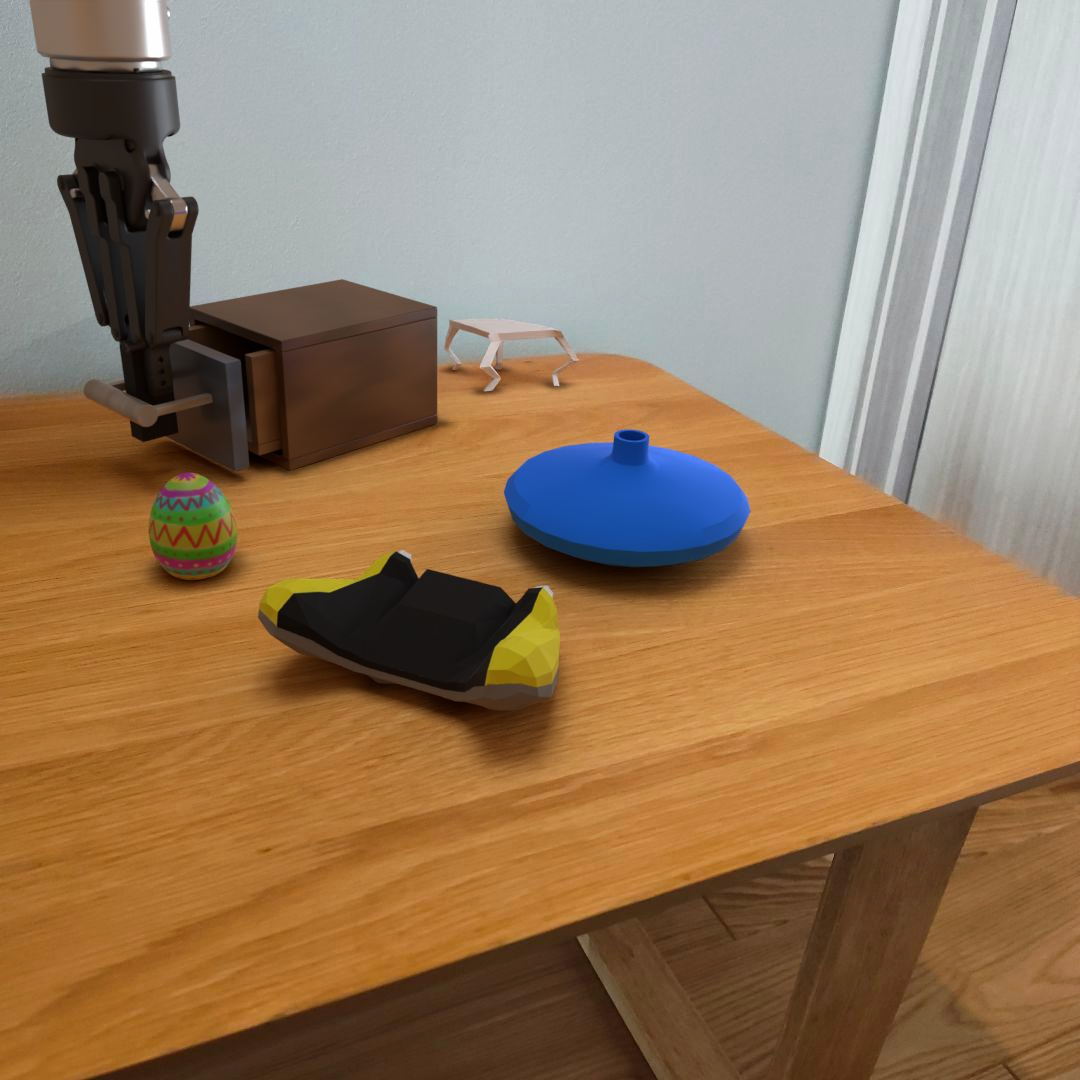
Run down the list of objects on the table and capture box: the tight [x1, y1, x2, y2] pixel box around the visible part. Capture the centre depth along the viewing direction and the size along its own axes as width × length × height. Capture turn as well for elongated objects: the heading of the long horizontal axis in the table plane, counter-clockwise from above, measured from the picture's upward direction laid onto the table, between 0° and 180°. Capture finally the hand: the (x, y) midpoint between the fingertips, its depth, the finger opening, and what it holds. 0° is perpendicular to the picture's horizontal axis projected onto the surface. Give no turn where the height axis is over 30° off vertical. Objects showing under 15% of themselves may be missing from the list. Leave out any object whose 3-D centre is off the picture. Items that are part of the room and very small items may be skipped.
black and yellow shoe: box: [257, 549, 561, 711], centre depth 53 cm, size 15×6×10 cm
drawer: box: [83, 324, 282, 472], centre depth 77 cm, size 19×10×8 cm, turn 138°
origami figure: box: [443, 317, 580, 392], centre depth 96 cm, size 12×8×5 cm
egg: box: [148, 472, 238, 581], centre depth 62 cm, size 5×5×6 cm
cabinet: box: [189, 278, 438, 471], centre depth 83 cm, size 15×12×10 cm
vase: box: [503, 428, 751, 568], centre depth 68 cm, size 16×16×7 cm
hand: (155, 434), depth 74 cm, fingers closed
